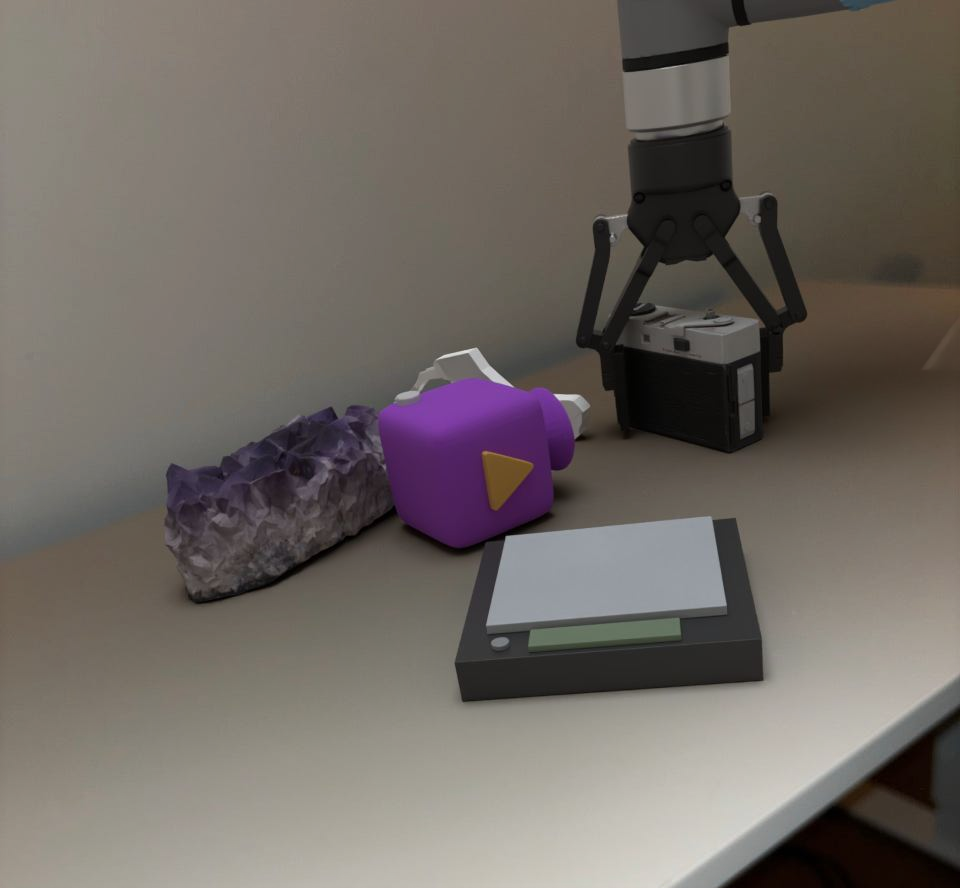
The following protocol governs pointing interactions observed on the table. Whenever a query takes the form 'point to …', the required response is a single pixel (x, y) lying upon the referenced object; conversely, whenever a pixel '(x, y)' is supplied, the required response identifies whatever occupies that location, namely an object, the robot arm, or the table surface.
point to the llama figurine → (477, 367)
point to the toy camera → (474, 457)
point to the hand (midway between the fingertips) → (693, 418)
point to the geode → (276, 502)
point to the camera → (693, 375)
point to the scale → (610, 611)
